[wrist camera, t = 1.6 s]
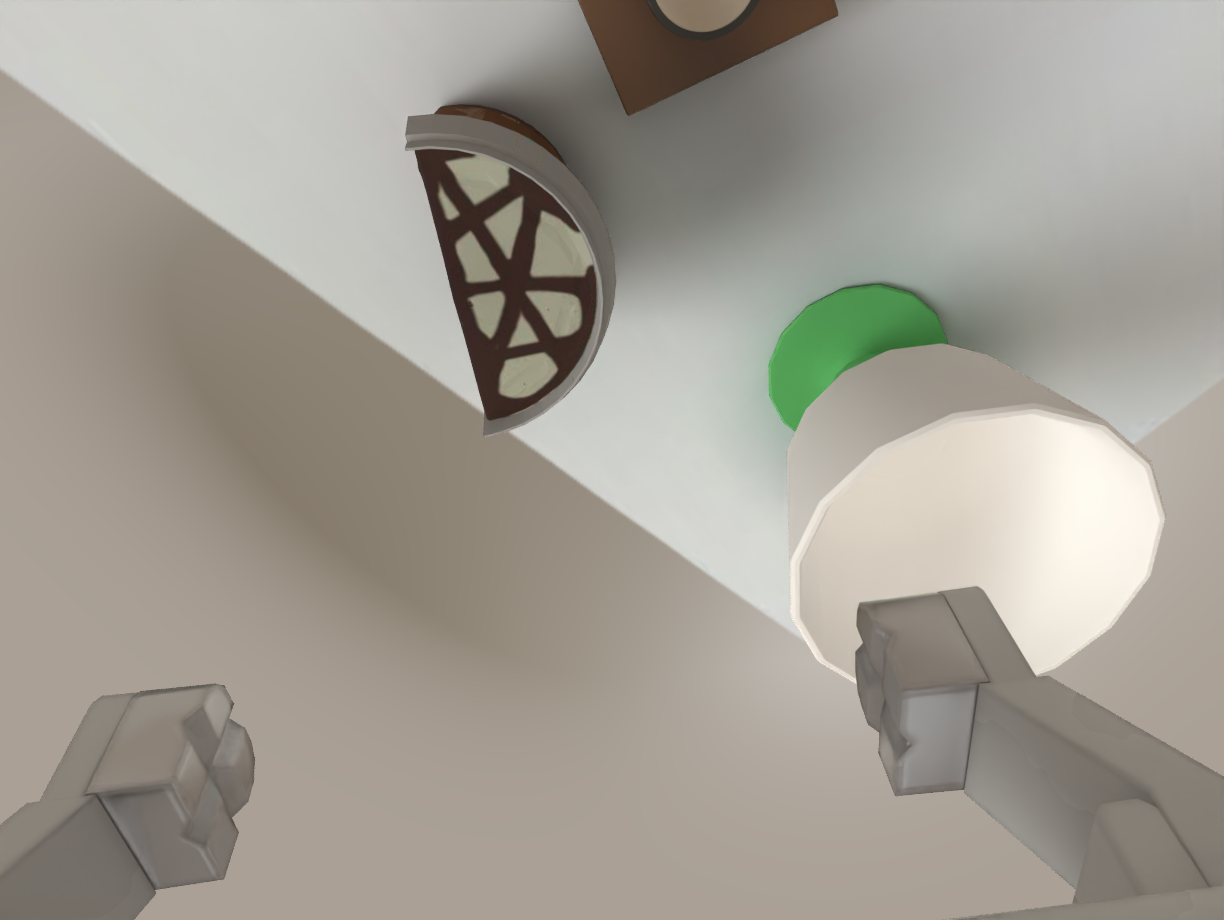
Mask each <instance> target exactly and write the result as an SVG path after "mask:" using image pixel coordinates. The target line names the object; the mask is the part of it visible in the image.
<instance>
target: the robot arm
mask: <svg viewBox="0 0 1224 920" xmlns="http://www.w3.org/2000/svg"><path fill="white" fill-rule="evenodd" d="M856 626H857V629H858V632H859V634H860V637H861V639H862V642H863V643H862V644H861V646H860V647H859V648H858V649H857V650H856V651H855V673H856V681H857V689H858V694H859V698H860V702H861V706H862V709H863V712H864V715H865V718H866V720H867V723H868V725H869V726H871V727H872V728H874V729H875V730H877V731H878V732H879V751H878V753H879V755H880V758H881V761H882V763H883V766H884V769H885V771H886V774H887V776H888V779H889V782H890V784H891V787H892V789H893V792H894V795H895V796H902V795H913V794H922V793H933V792H944V791H954V790H964V793H965V794H966V795H967V796H968V797H969V798H971V799H972V800H973V801H974V802H975V803H976V804H978V805H979V806H980V807H981V808H982V809H983V810H985V811H986V812H987V813H988V814H989V815H990V816H991V817H993V818H994V819H995V820H996V821H997V822H998V823H1000V824H1001V825H1002V826H1003V827H1004V828H1005V829H1007V830H1008V831H1009V832H1010V833H1011V834H1012V835H1013V836H1014V837H1016V838H1017V839H1018V840H1019V841H1020V842H1021V843H1023V844H1024V845H1025V846H1026V847H1027V848H1028V849H1029V850H1031V851H1032V852H1033V853H1034V854H1035V855H1036V856H1037V857H1039V858H1040V859H1041V860H1042V861H1043V862H1044V863H1046V864H1047V865H1048V866H1049V867H1050V868H1051V869H1052V870H1054V871H1055V872H1056V873H1057V874H1058V875H1059V876H1061V877H1062V878H1063V879H1064V880H1065V881H1066V882H1067V883H1069V884H1070V885H1071V886H1072V887H1073V888H1074V889H1075V890H1076V892H1075V896H1074V899H1073V903H1072V904H1067V905H1060V906H1052V907H1043V908H1035V909H1026V910H1018V911H1010V912H1002V913H994V914H986V915H978V916H969V917H961V918H953V919H945V920H1224V777H1223V776H1222V775H1220V774H1218V773H1217V772H1215V771H1213V770H1211V769H1210V768H1208V767H1206V766H1204V765H1203V764H1201V763H1199V762H1197V761H1196V760H1194V759H1192V758H1190V757H1189V756H1187V755H1185V754H1183V753H1182V752H1180V751H1178V750H1176V749H1175V748H1173V747H1171V746H1170V745H1168V744H1166V743H1164V742H1162V741H1161V740H1159V739H1157V738H1156V737H1154V736H1152V735H1150V734H1149V733H1147V732H1145V731H1144V730H1142V729H1140V728H1138V727H1137V726H1135V725H1133V724H1131V723H1130V722H1128V721H1126V720H1124V719H1122V718H1121V717H1119V716H1118V715H1116V714H1114V713H1112V712H1111V711H1109V710H1107V709H1105V708H1104V707H1102V706H1100V705H1098V704H1097V703H1095V702H1093V701H1091V700H1090V699H1088V698H1086V697H1085V696H1083V695H1081V694H1079V693H1078V692H1076V691H1074V690H1072V689H1071V688H1069V687H1067V686H1065V685H1064V684H1062V683H1060V682H1058V681H1057V680H1055V679H1053V678H1052V677H1050V676H1042V677H1036V675H1035V674H1034V672H1033V670H1032V669H1031V667H1030V665H1029V664H1028V662H1027V660H1026V659H1025V657H1024V655H1023V654H1022V652H1021V650H1020V649H1019V647H1018V646H1017V644H1016V642H1015V641H1014V639H1013V637H1012V636H1011V634H1010V632H1009V631H1008V629H1007V627H1006V626H1005V624H1004V622H1003V621H1002V619H1001V618H1000V616H999V614H998V613H997V611H996V609H995V608H994V606H993V604H992V603H991V601H990V599H989V598H988V596H987V594H986V593H985V591H984V590H983V589H981V588H980V587H978V586H973V587H966V588H959V589H952V590H945V591H938V592H937V593H935V592H933V593H926V594H918V595H911V596H903V597H896V598H888V599H881V600H873V601H866V602H860V603H859V606H858V609H857V621H856ZM233 705H234V703H233V701H232V699H231V697H230V695H229V693H228V691H227V690H226V688H225V686H224V685H219V684H207V685H196V686H186V687H176V688H168V689H157V690H147V691H140V692H137V693H127V694H116V695H105V696H101V697H100V698H98V699H97V700H96V701H94V702H93V703H92V704H91V705H90V707H89V709H88V711H87V713H86V715H85V716H84V718H83V720H82V722H81V724H80V726H79V728H78V730H77V731H76V733H75V735H74V737H73V739H72V741H71V743H70V745H69V746H68V748H67V750H66V752H65V754H64V756H63V758H62V760H61V762H60V763H59V765H58V767H57V769H56V771H55V773H54V775H53V776H52V778H51V780H50V782H49V784H48V786H47V788H46V790H45V791H44V793H43V796H42V797H41V799H40V801H39V802H33V803H27V804H26V805H24V806H23V807H22V808H20V809H19V810H18V811H17V812H16V813H14V814H13V815H12V816H11V817H9V818H8V819H7V820H6V821H4V822H3V823H2V824H1V825H0V920H134V919H135V918H136V917H137V916H138V914H139V913H140V912H141V911H142V910H143V909H144V907H145V906H146V905H147V904H148V903H149V901H150V900H151V899H152V898H153V897H154V896H155V894H156V892H155V890H157V889H164V888H170V887H177V886H183V885H190V884H196V883H203V882H210V881H216V880H223V879H224V878H225V875H226V871H227V868H228V865H229V862H230V858H231V855H232V852H233V849H234V846H235V843H236V840H237V836H238V833H239V832H238V830H237V828H236V826H235V824H234V822H233V820H232V817H233V816H234V815H235V814H236V813H237V812H238V811H239V810H240V809H241V808H242V807H243V806H244V805H245V804H246V803H247V802H248V800H249V797H250V793H251V790H252V786H253V783H254V765H255V757H254V752H253V747H252V743H251V740H250V737H249V735H248V733H247V731H246V729H245V728H244V727H243V726H241V725H240V724H238V723H236V722H235V721H233V720H231V719H230V718H229V717H230V714H231V711H232V708H233Z"/></svg>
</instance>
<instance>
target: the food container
mask: <svg viewBox="0 0 1224 920" xmlns="http://www.w3.org/2000/svg"><path fill="white" fill-rule="evenodd" d="M405 136H406V139H407V144H406V147H405V150H406V151H409V150H415V154H416V158H417V162H418V169H419V172H420V174H421V176H422V179H423V182H424V185H425V189H426V192H427V196H428V200H429V204H430V208H431V212H432V216H433V220H434V224H435V227H436V231H437V235H438V239H439V243H440V247H441V250H442V254H443V259H444V263H445V267H446V271H447V275H448V279H449V283H450V288H451V292H452V296H453V300H454V303H455V307H456V310H457V313H458V317H459V320H460V323H461V327H462V330H463V334H464V337H465V341H466V345H467V348H468V352H469V356H470V359H471V363H472V367H473V371H474V374H475V378H476V382H477V385H478V389H479V393H480V397H481V400H482V404H483V407H484V432H483V437H488V436H492V435H496V434H501V433H504V432H507V431H510V430H512V429H515V428H517V427H520V426H522V425H525V424H527V423H528V422H530V421H532V420H534V419H535V418H537V417H539V416H541V415H542V414H544V413H545V412H546V411H548V410H549V409H550V408H551V407H553V406H554V405H555V404H557V403H558V402H559V401H560V400H562V399H563V398H564V397H565V396H566V395H567V394H568V393H569V392H570V391H571V390H572V389H573V388H574V387H575V386H576V385H577V383H578V382H579V381H580V380H581V379H582V377H583V376H584V374H585V373H586V371H587V370H588V368H589V367H590V365H591V364H592V362H593V361H594V358H595V356H596V354H597V352H598V350H599V347H600V345H601V343H602V341H603V338H604V335H605V333H606V330H607V328H608V325H609V321H610V317H611V313H612V309H613V305H614V297H615V285H616V274H615V262H614V254H613V250H612V246H611V242H610V238H609V234H608V231H607V228H606V226H605V224H604V222H603V219H602V217H601V215H600V212H599V210H598V208H597V206H596V205H595V203H594V202H593V200H592V199H591V197H590V195H589V194H588V192H587V191H586V189H585V188H584V186H583V185H582V184H581V183H580V181H579V180H578V179H577V178H576V177H575V176H574V175H573V174H572V173H571V171H570V170H569V169H568V168H567V166H566V164H565V162H564V161H563V159H562V158H561V156H560V155H559V153H558V152H557V150H556V149H555V148H554V147H553V145H552V144H551V143H550V142H549V141H548V140H547V139H546V138H545V137H544V136H543V135H542V134H541V133H539V132H538V131H537V130H535V129H534V128H533V127H532V126H530V125H529V124H527V123H525V122H524V121H522V120H520V119H518V118H517V117H515V116H512V115H510V114H507V113H505V112H502V111H499V110H497V109H492V108H487V107H483V106H475V105H452V106H443V107H440V108H439V109H438V110H437V111H436V112H435V113H434V114H430V115H419V116H408V121H407V127H406V134H405Z"/></svg>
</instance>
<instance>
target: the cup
mask: <svg viewBox="0 0 1224 920" xmlns="http://www.w3.org/2000/svg"><path fill="white" fill-rule="evenodd" d="M769 396H770V398H771V400H772V402H773V404H774V406H775V407H776V409H777V411H778V413H779V415H780V417H781V419H782V421H783V422H784V423H785V424H786V425H787V426H789V427H790V428H791V429H793V430H794V431H796V432H795V434H794V436H793V439H792V441H791V443H790V445H789V447H788V450H787V492H788V528H789V565H790V601H791V618H792V619H793V621H794V623H795V624H796V626H797V628H798V629H799V631H800V633H801V634H802V636H803V638H804V639H805V641H806V642H807V644H808V646H809V647H810V649H811V651H812V652H813V654H814V656H815V657H816V659H817V661H819V662H820V663H822V664H823V665H825V666H827V667H828V668H830V669H832V670H833V671H835V672H837V673H838V674H840V675H842V676H843V677H845V678H847V679H848V680H850V681H852V682H853V683H855V684H857V681H856V673H855V651H856V650H857V649H858V648H859V647H860V646H861V644H862V643H863V642H862V639H861V637H860V634H859V632H858V629H857V626H856V621H857V609H858V606H859V603H860V602H866V601H873V600H881V599H888V598H896V597H903V596H911V595H918V594H926V593H933V592H935V593H937V592H938V591H945V590H952V589H959V588H966V587H973V586H978V587H980V588H981V589H983V590H984V591H985V593H986V594H987V596H988V598H989V599H990V601H991V603H992V604H993V606H994V608H995V609H996V611H997V613H998V614H999V616H1000V618H1001V619H1002V621H1003V622H1004V624H1005V626H1006V627H1007V629H1008V631H1009V632H1010V634H1011V636H1012V637H1013V639H1014V641H1015V642H1016V644H1017V646H1018V647H1019V649H1020V650H1021V652H1022V654H1023V655H1024V657H1025V659H1026V660H1027V662H1028V664H1029V665H1030V667H1031V669H1032V670H1033V672H1034V674H1035V675H1039V674H1041V673H1044V672H1047V671H1049V670H1052V669H1054V668H1057V667H1058V666H1059V665H1061V664H1062V663H1063V662H1065V661H1066V660H1068V659H1069V658H1070V657H1072V656H1073V655H1074V654H1075V653H1077V652H1079V651H1080V650H1081V649H1083V648H1084V647H1085V646H1087V645H1088V644H1089V643H1091V642H1092V641H1094V640H1095V639H1096V638H1098V637H1099V636H1100V635H1102V634H1103V633H1104V632H1106V631H1107V630H1108V629H1110V628H1111V627H1112V626H1113V625H1114V624H1115V622H1116V621H1117V619H1118V618H1119V617H1120V615H1121V614H1122V613H1123V612H1124V610H1125V609H1126V607H1127V606H1128V605H1129V603H1130V602H1131V601H1132V599H1133V598H1134V596H1135V595H1136V594H1137V593H1138V591H1139V590H1140V589H1141V587H1142V586H1143V585H1144V583H1145V582H1146V581H1147V579H1148V578H1149V576H1150V575H1151V572H1152V568H1153V564H1154V560H1155V556H1156V552H1157V548H1158V544H1159V540H1160V537H1161V533H1162V529H1163V524H1164V521H1165V517H1166V513H1165V509H1164V506H1163V502H1162V498H1161V495H1160V491H1159V488H1158V485H1157V480H1156V477H1155V473H1154V470H1153V466H1152V463H1151V460H1150V459H1148V458H1147V457H1146V456H1145V455H1144V454H1143V453H1142V452H1141V451H1139V450H1138V449H1137V448H1136V447H1135V446H1134V445H1133V444H1132V443H1130V442H1129V441H1128V440H1127V439H1126V438H1125V437H1124V436H1122V435H1121V434H1120V433H1119V432H1118V431H1117V430H1116V429H1115V428H1113V427H1112V426H1111V425H1110V424H1109V423H1108V422H1107V421H1105V420H1104V419H1102V418H1100V417H1098V416H1097V415H1095V414H1093V413H1091V412H1089V411H1088V410H1086V409H1084V408H1082V407H1080V406H1079V405H1077V404H1075V403H1073V402H1072V401H1070V400H1068V399H1066V398H1064V397H1063V396H1061V395H1059V394H1057V393H1055V392H1054V391H1052V390H1050V389H1048V388H1046V387H1045V386H1043V385H1041V384H1039V383H1037V382H1036V381H1034V380H1032V379H1030V378H1028V377H1027V376H1025V375H1023V374H1021V373H1020V372H1018V371H1016V370H1014V369H1012V368H1011V367H1009V366H1007V365H1005V364H1003V363H1002V362H1000V361H998V360H996V359H994V358H993V357H991V356H989V355H986V354H982V353H978V352H974V351H970V350H966V349H963V348H959V347H955V346H951V345H948V342H947V339H946V337H945V334H944V332H943V329H942V326H941V324H940V321H939V319H938V316H937V314H936V313H935V312H933V311H932V310H931V309H930V308H929V307H928V306H926V305H925V304H924V303H923V302H922V301H921V300H919V299H918V298H917V297H916V296H915V295H914V294H912V293H909V292H906V291H902V290H898V289H894V288H891V287H887V286H883V285H879V284H877V285H869V286H861V287H853V288H845V289H841V290H839V291H837V292H835V293H833V294H831V295H829V296H827V297H825V298H823V299H821V300H819V301H817V302H815V303H813V304H811V305H809V306H807V307H806V308H805V309H804V310H803V312H802V313H801V314H800V315H799V316H798V317H797V318H796V319H795V320H794V321H793V322H792V323H791V324H790V325H789V326H788V327H787V328H786V329H785V330H784V331H783V333H782V334H781V336H780V339H779V341H778V344H777V346H776V348H775V351H774V353H773V356H772V358H771V360H770V363H769Z"/></svg>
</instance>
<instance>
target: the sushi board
mask: <svg viewBox="0 0 1224 920" xmlns="http://www.w3.org/2000/svg"><path fill="white" fill-rule="evenodd" d="M578 2H579V4H580V6H581V9H582V11H583V13H584V16H585V18H586V20H587V23H588V25H589V27H590V30H591V32H592V34H593V37H594V39H595V41H596V44H597V46H598V48H599V51H600V53H601V55H602V58H603V60H604V62H605V65H606V67H607V69H608V72H609V74H610V76H611V79H612V81H613V83H614V86H615V88H616V90H617V93H618V95H619V97H620V100H621V102H622V104H623V107H624V109H625V111H626V114H627V115H628V116H630V115H632V114H634V113H636V112H639V111H641V110H643V109H645V108H647V107H649V106H651V105H653V104H655V103H657V102H659V101H661V100H664V99H666V98H668V97H670V96H672V95H674V94H676V93H678V92H680V91H682V90H684V89H686V88H689V87H691V86H693V85H695V84H697V83H699V82H701V81H703V80H705V79H707V78H709V77H712V76H714V75H716V74H718V73H720V72H722V71H724V70H726V69H728V68H730V67H732V66H734V65H737V64H739V63H741V62H743V61H745V60H747V59H749V58H751V57H753V56H755V55H757V54H759V53H762V52H764V51H766V50H768V49H770V48H772V47H774V46H776V45H778V44H780V43H782V42H784V41H787V40H789V39H791V38H793V37H795V36H797V35H799V34H801V33H803V32H805V31H807V30H809V29H812V28H814V27H816V26H818V25H820V24H822V23H824V22H826V21H828V20H830V19H832V18H834V17H837V16H838V10H837V7H836V4H835V0H578Z"/></svg>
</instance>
